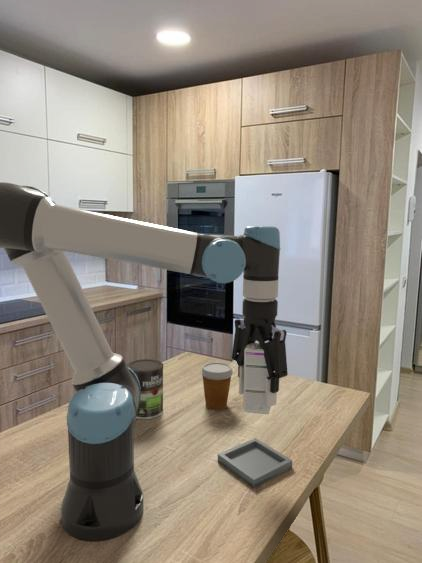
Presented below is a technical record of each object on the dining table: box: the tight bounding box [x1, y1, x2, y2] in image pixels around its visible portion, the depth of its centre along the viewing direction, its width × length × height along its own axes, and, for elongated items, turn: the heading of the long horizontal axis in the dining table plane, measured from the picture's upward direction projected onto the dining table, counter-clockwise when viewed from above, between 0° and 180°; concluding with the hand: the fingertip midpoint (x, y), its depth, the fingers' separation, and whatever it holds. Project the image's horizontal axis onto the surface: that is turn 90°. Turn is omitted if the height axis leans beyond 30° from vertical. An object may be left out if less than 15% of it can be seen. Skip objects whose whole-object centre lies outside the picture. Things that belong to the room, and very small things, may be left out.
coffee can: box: [126, 358, 164, 421], centre depth 120 cm, size 10×10×14 cm
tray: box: [217, 437, 293, 489], centre depth 96 cm, size 12×12×2 cm
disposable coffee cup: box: [200, 362, 234, 411], centre depth 125 cm, size 10×10×12 cm
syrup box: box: [242, 341, 271, 415], centre depth 93 cm, size 6×6×14 cm
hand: (257, 398), depth 94 cm, fingers closed on syrup box, 8 cm apart
